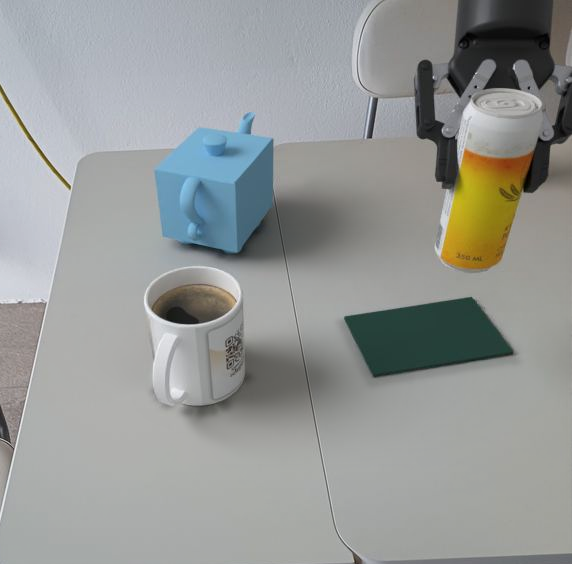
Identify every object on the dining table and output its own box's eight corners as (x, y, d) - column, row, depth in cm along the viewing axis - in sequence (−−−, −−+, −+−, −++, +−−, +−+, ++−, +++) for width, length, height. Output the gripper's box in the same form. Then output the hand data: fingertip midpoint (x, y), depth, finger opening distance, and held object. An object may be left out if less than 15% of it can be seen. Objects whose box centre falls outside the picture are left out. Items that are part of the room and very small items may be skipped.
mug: (265, 387, 69) (265, 307, 61) (165, 433, 65) (152, 353, 57) (217, 332, 76) (212, 254, 68) (123, 371, 72) (107, 292, 64)
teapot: (229, 275, 84) (225, 178, 75) (154, 257, 88) (141, 163, 78) (287, 194, 99) (289, 105, 89) (220, 182, 102) (216, 95, 93)
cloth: (471, 299, 78) (471, 296, 78) (512, 354, 71) (513, 351, 71) (344, 318, 77) (344, 316, 76) (373, 377, 69) (373, 374, 69)
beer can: (509, 275, 59) (560, 115, 49) (442, 278, 59) (478, 119, 49) (488, 238, 63) (531, 84, 53) (426, 241, 64) (457, 88, 53)
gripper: (424, -34, 52) (407, 171, 52) (616, -36, 50) (599, 179, 50) (412, 16, 60) (396, 196, 59) (578, 17, 57) (564, 204, 57)
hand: (489, 188), depth 54 cm, fingers closed on beer can, 6 cm apart
